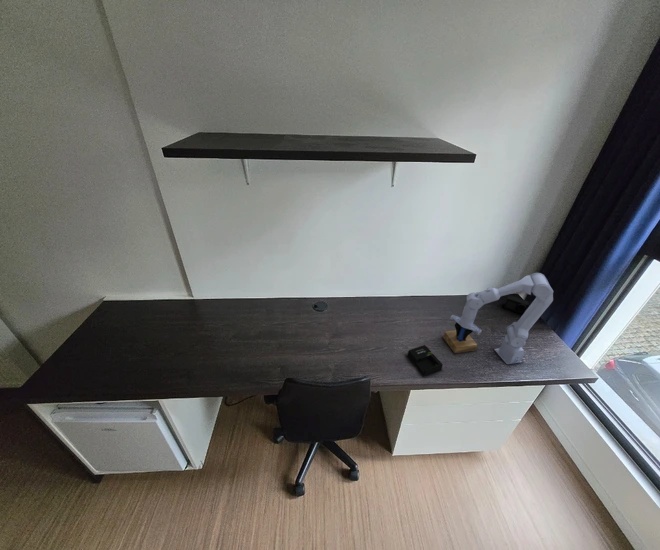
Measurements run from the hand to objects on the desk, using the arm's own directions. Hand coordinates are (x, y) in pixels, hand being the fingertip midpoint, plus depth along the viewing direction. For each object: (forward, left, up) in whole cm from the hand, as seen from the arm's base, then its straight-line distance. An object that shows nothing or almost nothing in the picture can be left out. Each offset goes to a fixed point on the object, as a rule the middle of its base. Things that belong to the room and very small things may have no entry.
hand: (461, 337), depth 143 cm
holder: (0, 0, -5) cm, 5 cm away
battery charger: (-8, +23, -5) cm, 25 cm away
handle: (0, 0, -3) cm, 3 cm away
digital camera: (+20, -47, -5) cm, 51 cm away
